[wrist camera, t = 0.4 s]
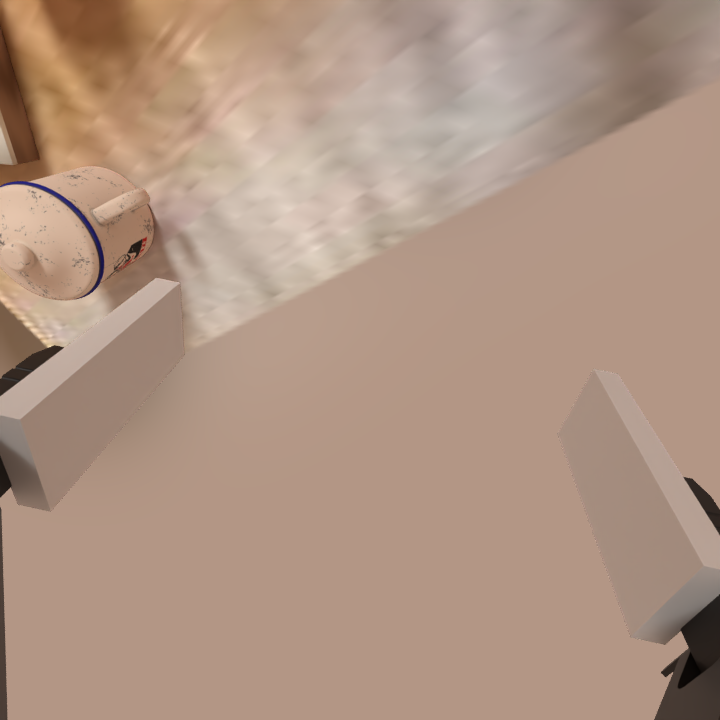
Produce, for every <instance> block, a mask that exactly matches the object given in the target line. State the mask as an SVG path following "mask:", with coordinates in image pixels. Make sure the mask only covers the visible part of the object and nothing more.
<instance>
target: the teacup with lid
mask: <svg viewBox="0 0 720 720" xmlns="http://www.w3.org/2000/svg"><path fill="white" fill-rule="evenodd" d="M149 202H150V197H149V195H148V194H147V192H146V191H145V190H144V189H142V188H138V189H136V187H135V186H134V185H133V184H132V183H130V182H129V181H128V180H127V179H126V178H124V177H123V176H121V175H120V174H118V173H116V172H114V171H112V170H109V169H106V168H103V167H98V166H86V167H81V168H77V169H73V170H70V171H66V172H62V173H58V174H55V175H51V176H47V177H44V178H40V179H36V180H32V181H29V182H25V181H17V182H10V183H6V184H4V185H2V186H0V267H1V268H2V269H3V270H4V272H5V273H6V274H7V275H8V276H9V277H11V278H12V279H13V280H14V281H15V282H17V283H18V284H19V285H21V286H22V287H24V288H25V289H27V290H29V291H31V292H33V293H35V294H37V295H40V296H42V297H45V298H49V299H55V300H73V299H79V298H82V297H85V296H87V295H89V294H90V293H92V292H93V291H94V290H95V289H96V288H97V287H98V285H99V284H100V283H101V282H103V281H105V280H106V279H108V278H109V277H111V276H112V275H114V274H116V273H117V272H119V271H120V270H122V269H123V268H125V267H126V266H128V265H130V264H131V263H133V262H134V261H136V260H137V259H139V258H140V257H142V256H143V255H144V254H145V253H146V252H147V251H148V249H149V248H150V246H151V243H152V240H153V236H154V223H153V218H152V214H151V211H150V209H149V207H148V205H147V204H148V203H149Z"/></svg>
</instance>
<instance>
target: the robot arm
mask: <svg viewBox="0 0 720 720" xmlns="http://www.w3.org/2000/svg"><path fill="white" fill-rule="evenodd" d="M184 355H185V354H184V338H183V322H182V305H181V289H180V282H175V281H170V280H165V279H161V278H155V279H154V280H153V281H151V282H150V283H149V284H147V285H146V286H145V287H143V288H142V289H141V290H139V291H138V292H137V293H135V294H134V295H133V296H132V297H130V298H129V299H128V300H126V301H125V302H124V303H122V304H121V305H120V306H118V307H117V308H116V309H114V310H113V311H112V312H110V313H109V314H108V315H107V316H105V317H104V318H103V319H101V320H100V321H99V322H97V323H96V324H95V325H93V326H92V327H91V328H89V329H88V330H87V331H86V332H84V333H83V334H82V335H80V336H79V337H78V338H76V339H75V340H74V341H72V342H71V343H70V344H68V345H67V346H66V347H60V346H55V345H54V346H52V347H49V348H47V349H44V350H42V351H39V352H37V353H34V354H32V355H31V356H29V357H28V358H26V359H25V360H24V361H22V362H21V363H19V364H18V365H17V366H16V368H15V369H11V370H10V371H8V372H7V373H6V374H4V375H3V376H2V378H1V379H0V497H1V496H2V495H3V494H4V493H5V492H6V491H7V490H8V489H9V488H10V487H11V489H12V491H13V494H14V496H15V499H16V501H17V504H18V505H23V506H27V507H32V508H37V509H42V510H46V511H52V510H53V509H54V507H55V506H56V505H57V504H58V503H59V502H60V500H61V499H62V498H63V497H64V496H65V494H66V493H67V492H68V491H69V490H70V488H72V486H73V485H74V484H75V483H76V482H77V481H78V479H79V478H80V477H81V476H82V475H83V473H84V472H85V471H86V470H87V469H88V468H89V466H90V465H91V464H92V463H93V462H94V461H95V459H96V458H97V457H98V456H99V455H100V454H101V452H102V451H103V450H104V449H105V448H106V447H107V445H108V444H109V443H110V442H111V441H112V440H113V438H114V437H115V436H116V434H117V433H118V432H119V431H120V430H121V429H122V428H123V426H124V425H125V424H126V423H127V422H128V421H129V420H130V418H131V417H132V416H133V415H134V414H135V413H136V411H137V410H138V409H139V408H140V407H141V406H142V404H143V403H144V402H145V401H146V400H147V399H148V397H149V396H150V395H151V394H152V393H153V392H154V390H155V389H156V388H157V387H158V386H159V385H160V383H161V382H162V381H163V380H164V379H165V378H166V376H167V375H168V374H169V373H170V372H171V370H172V369H173V368H174V367H175V366H176V364H177V363H178V362H179V361H180V360H181V359H182V358H183V356H184ZM557 434H558V437H559V440H560V443H561V445H562V448H563V451H564V454H565V456H566V459H567V462H568V465H569V468H570V471H571V473H572V476H573V479H574V482H575V484H576V487H577V490H578V493H579V495H580V498H581V501H582V504H583V507H584V509H585V512H586V515H587V518H588V521H589V523H590V526H591V529H592V532H593V534H594V537H595V540H596V543H597V546H598V548H599V551H600V554H601V557H602V559H603V562H604V565H605V568H606V571H607V573H608V576H609V579H610V581H611V584H612V587H613V590H614V593H615V596H616V598H617V601H618V604H619V607H620V609H621V612H622V615H623V618H624V621H625V623H626V626H627V629H628V632H629V634H630V637H632V638H637V639H641V640H646V641H651V642H655V643H660V644H664V645H665V644H666V643H667V642H668V641H670V640H671V639H672V638H673V637H674V636H675V635H677V634H678V633H679V632H680V631H682V634H683V636H684V638H685V640H686V642H687V645H688V647H689V648H688V649H687V650H686V651H685V652H684V653H682V654H681V655H680V656H679V657H678V658H676V659H675V660H674V661H673V662H672V663H670V664H669V665H668V666H667V667H666V668H665V669H664V670H663V671H662V672H661V673H662V674H663V675H664V676H665V677H667V676H668V675H669V674H670V673H672V672H673V675H672V677H671V680H670V682H669V685H668V687H667V690H666V692H665V695H664V697H663V699H662V702H661V705H660V707H659V709H658V712H657V714H656V717H655V719H654V720H720V509H719V508H718V506H717V505H716V503H715V502H714V500H713V499H712V497H711V496H710V495H709V494H708V493H707V492H706V491H705V490H704V489H702V488H701V487H700V486H699V485H698V484H697V483H696V482H695V481H694V480H693V479H690V478H686V477H683V476H682V475H681V473H680V471H679V470H678V468H677V467H676V465H675V464H674V462H673V460H672V459H671V457H670V456H669V454H668V453H667V451H666V449H665V448H664V446H663V445H662V443H661V441H660V440H659V438H658V437H657V435H656V434H655V432H654V430H653V429H652V427H651V425H650V424H649V423H648V421H647V419H646V418H645V416H644V415H643V413H642V411H641V410H640V408H639V407H638V405H637V403H636V402H635V400H634V399H633V397H632V395H631V394H630V392H629V391H628V389H627V387H626V386H625V384H624V383H623V381H622V380H621V378H620V376H619V375H618V374H616V373H611V372H606V371H601V370H597V369H593V370H592V372H591V374H590V376H589V378H588V379H587V381H586V383H585V385H584V387H583V388H582V390H581V392H580V394H579V396H578V398H577V399H576V401H575V403H574V405H573V406H572V408H571V410H570V412H569V414H568V415H567V417H566V419H565V421H564V423H563V424H562V426H561V428H560V430H559V432H558V433H557ZM2 555H3V554H2V521H1V508H0V720H7V692H6V655H5V623H4V588H3V556H2Z"/></svg>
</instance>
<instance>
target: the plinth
mask: <svg viewBox="0 0 720 720" xmlns="http://www.w3.org/2000/svg"><path fill="white" fill-rule="evenodd" d="M34 160H39V155H38V152H37V149H36V145H35V142H34V139H33V135H32V132H31V129H30V125H29V122H28V118H27V115H26V112H25V108H24V105H23V102H22V98H21V95H20V92H19V88H18V85H17V81H16V78H15V75H14V71H13V68H12V65H11V61H10V58H9V54H8V51H7V48H6V44H5V41H4V38H3V34H2V31H1V28H0V164H7V165H16V164H20V163H25V162H29V161H34Z"/></svg>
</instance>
